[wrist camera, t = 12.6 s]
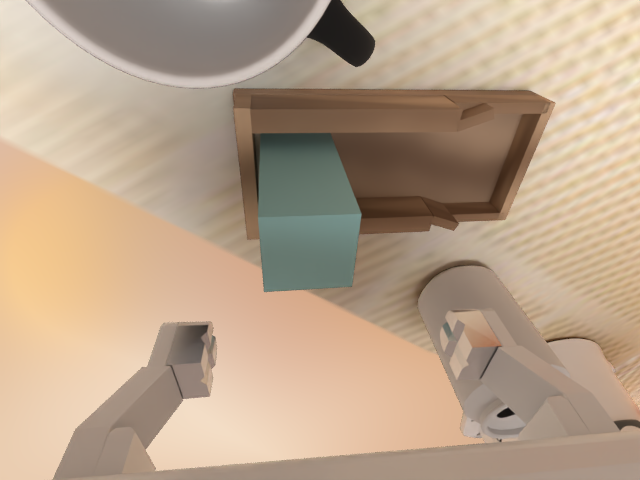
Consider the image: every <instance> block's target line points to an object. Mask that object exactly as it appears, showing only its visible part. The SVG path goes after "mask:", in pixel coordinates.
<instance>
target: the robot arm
mask: <svg viewBox="0 0 640 480" xmlns="http://www.w3.org/2000/svg"><path fill="white" fill-rule="evenodd" d="M445 318H446V320H447V322H446V323H445V324H444V325H443V326H442V328H441V331H440V341H441V345H442V348H443V350H444V352H445V353H446V354H447V355H449V356H450V357H451V359H450V362H449V364H450V366H451V369H452V371H453V373H454V375H455V377H456V380H477V379H481V380H480V381H481V382H482V383H483V384H484V385H485V386H486V387H487V388H488V389H490V390H491V391H492V392H493V393H494V394H495V395H496V396H497V397H498V398H499V399H500V400H501V401H502V402H503V403H504V404H505V405H506V406H507V407H509V408H510V409H511V410H512V411H513V412H514V413H515V414H516V415H517V416H518V417H519V418H520V419H521V420H522V421H523V422H524V423H525V424H527V425H526V426H525V427H524V428H523V430H522V431H521V432H520V434H519V436H518V437H516V438H509V439H498V438H491V437H489V436H487V435H485V434H484V433H483V432H482V429H481V427H480V426H481V424H479V423H477V422H476V421H474V420H472V419H470V418H468V417H467V416H465V414H464V411H463V416H462V421H461V426H460V430H461V432H462V433H463V435H464V436H467V437H473V438H483V440H484V442H485V443H483V444H471V445H458V446H447V447H435V448H423V449H411V450H399V451H387V452H375V453H364V454H352V455H340V456H329V457H316V458H306V459H305V458H304V459H292V460H281V461H269V462H257V463H247V464H246V463H245V464H234V465H222V466H211V467H198V468H186V469H175V470H163V471H155V469H156V468H155V466H154V464H153V463H152V461H151V459H150V457H149V455H148V454H147V452H146V448H147V447H148V446H149V444H150V443H151V442H152V440H153V439H154V438H155V437H156V435H157V434H158V433H159V431H160V430H161V429H162V427H163V426H164V425H165V424H166V422H167V421H168V420H169V418H170V417H171V415H172V414H173V413H174V412H175V410H176V409H177V408H178V407H179V405H180V404H181V403H182V401H183V399H188V398H198V397H209V396H210V393H211V387H212V382H213V375H212V370H211V369H212V368H213V367H214V366H215V363H216V354H217V345H216V338H215V337H214V336H213V335H212V334H213V325H212V322H175V323H174V322H173V323H163V325H162V326H161V327H160V330H159V333H158V336H157V339H156V342H155V345H154V348H153V351H152V354H151V357H150V360H149V363H148V366H147V367H142V368H141V369H140V370H139V371H138V372H137V373H135V374H134V375H133V376H132V377H131V378H130V379H129V380H128V381H127V382H126V383H125V384H124V385H123V386H122V387H121V388H119V389H118V390H117V391H116V392H115V393H114V394H113V395H112V396H111V397H110V398H109V399H108V400H106V401H105V402H104V403H103V404H102V405H101V406H100V407H99V408H98V409H97V410H96V411H95V412H94V413H92V414H91V415H90V416H89V417H88V418H87V419H86V420H85V421H84V422H83V423H82V424H81V425H80V426H78V427H77V428H76V430H75V431H74V433H73V436H72V438H71V440H70V442H69V445H68V447H67V449H66V451H65V453H64V456H63V458H62V460H61V462H60V465H59V467H58V469H57V471H56V473H55V476H54V478H53V480H640V410H639V408H638V407H637V405H636V404H635V402H634V401H633V399H632V398H631V397H630V395H629V394H628V392H627V391H626V389H625V388H624V387H623V385H622V384H621V382H620V381H619V379H618V378H617V376H616V375H615V369H614V367H613V366H612V364H611V363H610V362H609V361H607V360H606V358H605V356H604V354H603V352H602V350H601V348H600V346H599V345H598V344H597V343H595V342H593V341H590V340H586V339H564V340H558V341H553V342H549V343H547V344H548V345H549V346H550V348H551V349H552V350H553V352H554V353H555V354H556V356H557V357H558V358H559V360H560V361H561V362H562V364H563V365H564V366H565V368H566V369H567V370H568V372H569V373H570V378H569V377H568V376H566V375H565V374H563V373H562V372H560V371H559V370H557V369H556V368H554V367H553V366H551V365H550V364H548V363H547V362H545V361H544V360H542V359H541V358H539V357H538V356H536V355H535V354H533V353H532V352H530V351H529V350H527V349H526V348H524V347H523V346H517V344H516V343H515V341H514V340H513V338H512V337H511V335H510V334H509V332H508V331H507V329H506V327H505V326H504V324H503V323H502V321H501V320H500V318H499V317H498V315H497V314H496V312H495V311H494V310H493V309H492V308H486V309H462V310H450V311H448V312H447V314H446V317H445Z"/></svg>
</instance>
